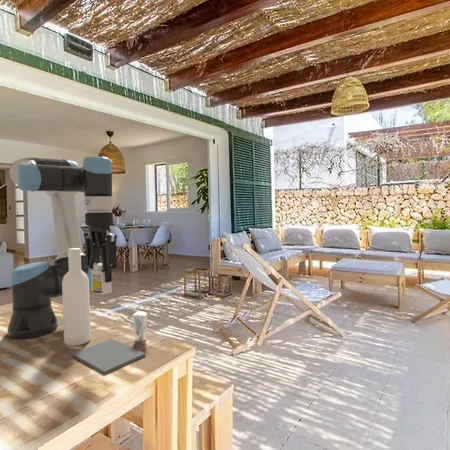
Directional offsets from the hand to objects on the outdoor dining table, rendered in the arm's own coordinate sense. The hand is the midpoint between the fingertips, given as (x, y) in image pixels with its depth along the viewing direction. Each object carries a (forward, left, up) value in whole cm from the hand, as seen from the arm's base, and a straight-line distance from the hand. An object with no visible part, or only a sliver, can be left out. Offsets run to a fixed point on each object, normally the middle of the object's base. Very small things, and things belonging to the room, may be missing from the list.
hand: (101, 291), depth 96 cm
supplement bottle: (0, 0, -1) cm, 1 cm away
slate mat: (+3, 0, -19) cm, 19 cm away
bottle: (-15, 0, -19) cm, 24 cm away
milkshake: (+1, +13, -19) cm, 23 cm away
